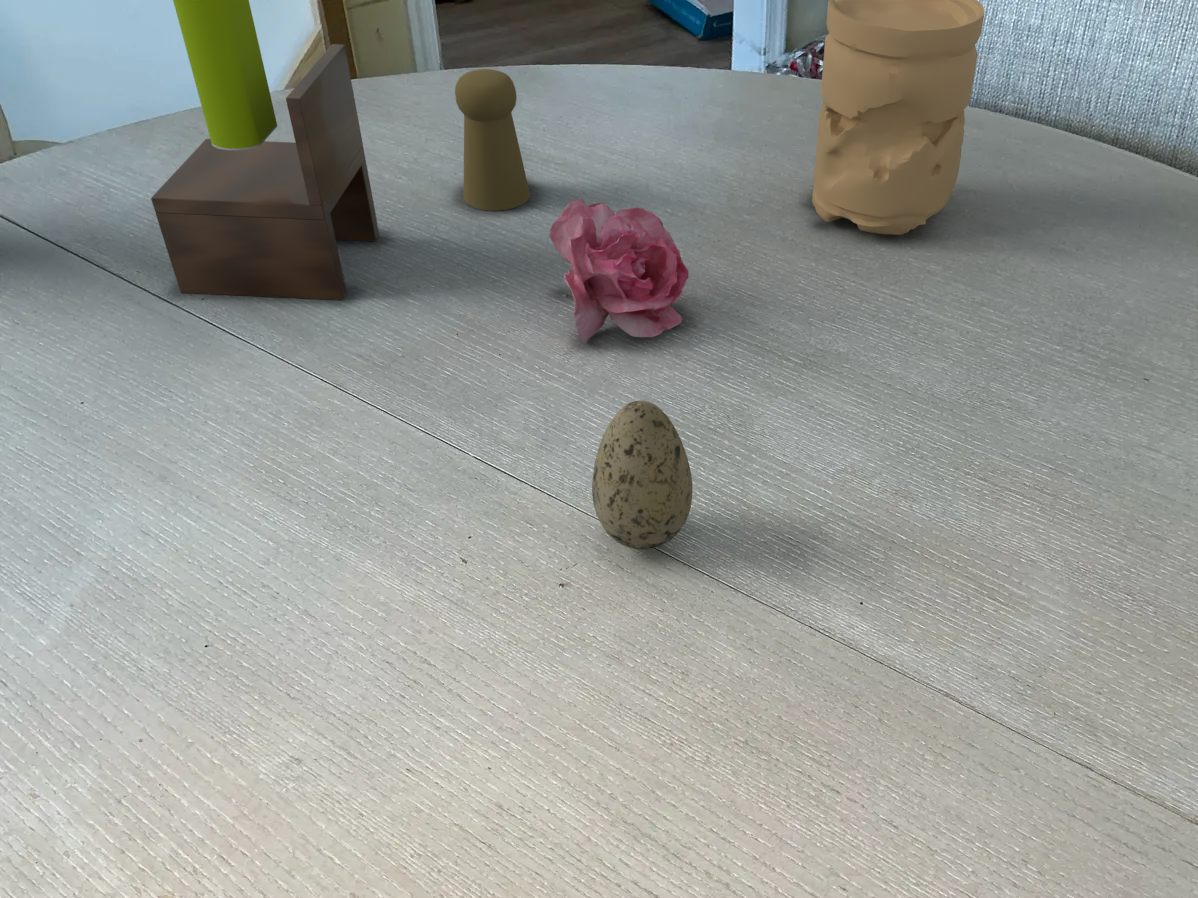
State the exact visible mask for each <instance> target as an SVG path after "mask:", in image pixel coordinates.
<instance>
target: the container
mask: <svg viewBox="0 0 1198 898" xmlns="http://www.w3.org/2000/svg"><path fill="white" fill-rule="evenodd" d="M984 19H985V7H984V5H983V4H982V3H981V2H980V1H979V0H828V2H827V13H826V22H825V23H826V30H827V33H828V34H827V35H826V36H825V38H824V51H823V61H822V62H823V63H822V72H821V83H820V84H821V86H820V96H821V99H822V103H821V108H820V111H819V115H818V120H817V121H818V122H817V123H818V124H817V135H816V137H817V138H816V148H815V161H814V172H813V173H814V174H813V186H814V188H813V190H812V198H811V201H812V202H811V203H812V206H813V207H814V209H815V212H816V213H817V215H818V216H819V217H820V218H821V219H822V220H823V221H824V222H826V223H829V222H833V221H836V220H839V219H843V218H844V219H846V220H849V221H851V222H852V223H854V224H856V225H857V228H858V230H860V231H862V232H866V233H871V234H879V235H898V236H902V235H905V234H907V233H909V232H910V230H914V229H916V228H917V227H918V226H921V225H926V224H927V220H928V219H929V218H931V217H932V216H934V215H936V214H938V213H939V212H941V211H942V210H943V208H945V206H946V205H947V204H948V202H949V200H950V198H951V197H952V194H953V193H954V190H955V186H956V184H957V183H956V182H957V179H958V175H959V171H960V165H961V157H962V146H963V143H964V137H965V122H966V116H965V109H966V108H967V107H968V105H969V103H970V101H971V95H972V91H973V86H974V82H975V81H974V80H975V74H976V68H977V61H978V51H977V47H976V45H977V43H978V42H979V39H980V38H981V36H982V31H983V26H984V21H985V20H984Z"/></svg>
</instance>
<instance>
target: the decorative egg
mask: <svg viewBox="0 0 1198 898" xmlns="http://www.w3.org/2000/svg"><path fill="white" fill-rule="evenodd" d="M691 471H692V470H691V467H690V462H689V459H688V456H687V452H686V449H685V447H684V444H683V442H682V439H681V436H680V435H679V432H678V431H677V429H676V427H675V425H674V424H673V422H672V421H671V419H670V418H669V416H668V415H667V414H666V413H665V412H664V410H663V409H661V408H660V407H659V406H658V405H656V404H655V403H652V402H650V401H647V400H634V401H632V402H629V403H627V404H626V405H624V406H623V407H621V408H620V409H619V410H618V411H617V412H616V414H615V415H614V416H613V418H612V419H611V421H610V422H609V424H608V425H607V427H606V429H605V431H604V433H603V435H602V438H601V441H600V444H599V447H598V449H597V452H596V456H595V461H594V466H593V471H592V480H591V481H592V482H591V493H592V494H591V495H592V502H593V507H594V511H595V514H596V517H597V519H598V522H599V523H600V526H601V527H602V528H603V530H604V531H605V532H606V533H607V534H608V536H610V537H611V538H612V539H613V540H615V541H616V542H617V543H619V544H620V545H622V546H625V547H627V548H630V549H633V550H652V549H656V548H659V547H662V546H663V545H665V544H667V543H668V542H670V541H671V540H672V539H674V537H676V536H677V535H678V534H679V533H680V531H681V530H682V528H683V527H684V525H685V524H686V522H687V520H688V518H689V515H690V512H691V508H692V504H693V503H692V502H693V479H692V478H693V477H692V472H691Z"/></svg>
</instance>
